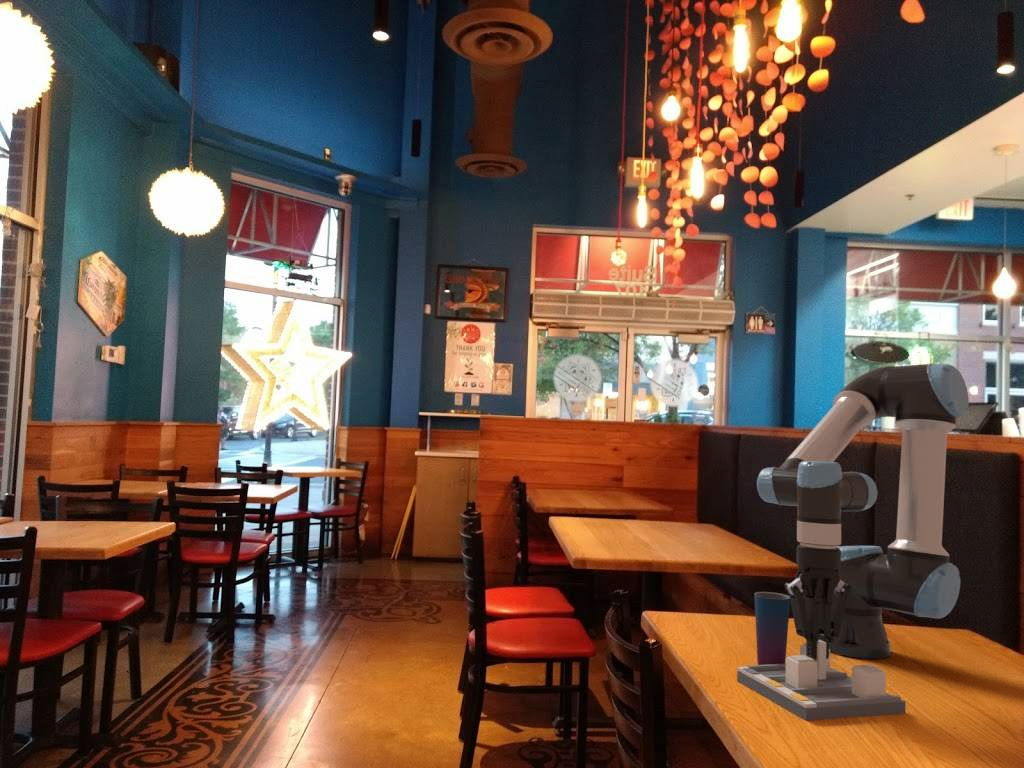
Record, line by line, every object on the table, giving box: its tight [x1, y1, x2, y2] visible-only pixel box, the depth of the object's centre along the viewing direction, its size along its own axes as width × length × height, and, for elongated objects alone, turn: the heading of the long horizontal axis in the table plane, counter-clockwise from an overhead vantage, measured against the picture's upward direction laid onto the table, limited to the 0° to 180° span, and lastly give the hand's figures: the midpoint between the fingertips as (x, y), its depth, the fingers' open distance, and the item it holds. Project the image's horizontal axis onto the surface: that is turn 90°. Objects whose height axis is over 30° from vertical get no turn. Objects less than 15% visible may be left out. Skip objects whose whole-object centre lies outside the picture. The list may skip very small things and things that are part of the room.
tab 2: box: [851, 664, 887, 698], centre depth 128 cm, size 4×4×5 cm
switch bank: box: [736, 663, 907, 722], centre depth 133 cm, size 20×20×3 cm
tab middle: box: [785, 654, 817, 688], centre depth 133 cm, size 4×4×5 cm
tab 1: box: [799, 642, 831, 672], centre depth 142 cm, size 4×4×5 cm
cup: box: [754, 591, 791, 665], centre depth 147 cm, size 7×7×15 cm
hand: (817, 676), depth 133 cm, fingers closed
